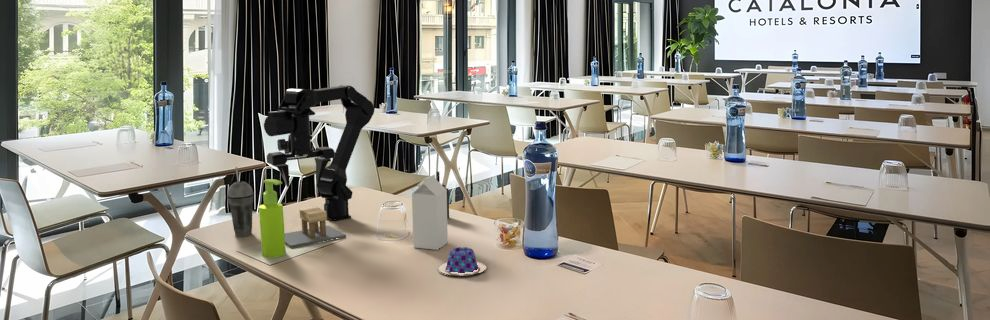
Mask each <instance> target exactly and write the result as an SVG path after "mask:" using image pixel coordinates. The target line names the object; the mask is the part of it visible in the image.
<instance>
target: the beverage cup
mask: <svg viewBox="0 0 990 320" xmlns="http://www.w3.org/2000/svg"><path fill="white" fill-rule="evenodd" d="M238 170H239V169H238V166H235V174H236V181H235V182H233V183H232V184H231V185H230V186H229V187H228V189H227V195H226V198H227V202H228V205H229V209H230V214H231V219H232V220H231V221H232V227H233V231H234V236H235V237H237V238H245V237H249V236H251V235H252V231H253V202H254V195H255V194H254V191H253V188H252V186H251V184H249V183H248V182H246V181H243V180H241V181H240V177H239V171H238Z"/></svg>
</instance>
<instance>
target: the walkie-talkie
mask: <svg viewBox="0 0 990 320" xmlns="http://www.w3.org/2000/svg"><path fill="white" fill-rule="evenodd" d="M436 180H437V181H438V182H439V183H440V184H441V182H440V171H436ZM441 185H442V186H443V187H444V188H445V189H446V190H447V219H449V218H450V193H449V190H450V188H447V187H446V185H445V184H441Z"/></svg>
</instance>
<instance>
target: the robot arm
mask: <svg viewBox="0 0 990 320" xmlns="http://www.w3.org/2000/svg"><path fill="white" fill-rule="evenodd" d="M283 96H284V97H283V98H282V100H281V101H280V104H279V106H278V108H277V111H268V112H267V117H266V118H265V120H264V122H263V129H264V131H265V133H266V135H267V136H269V137H276V136H277V137H278V136H283V135H288V140H286V139H285V138H280V139H279V138H278V139H277V142H276V143H277V150H278V151H276V152H275V151H274V152H269V153H268V154H267V155H266V163H267V164H270V165H272V166H273V167H275V168H277V170H278V172H280V175H281V177H282V179H283V181H284V184H285V187H286V188H289V187H290V171H289V169H290V168H289V164H286V163H287V162H288V161H294V160H302V159H303V160H304V159H310V158H311V159H312V158H314V162H315V179H316V188H317V190H318V192H319V195H320V197H321V198H322V199H325V200H324V204H323V210H324V211H326V214H327V220H329V221H331V222H333V221H339V220H344V219H350V218H352V215H350V214H349V200H351V199H352V198H353V190H352V189H350V187H348V186H347V182H348V176H347V168H348V165H349V163H350V161H351V160H350V159H351V158H352V155H353V153H354V149H355V147H356V145H357V141H358V139H359V136H360V134H361V131H362V129H363V128H364V127H365V126H366V125H367V124H369V122H370V121H371V119H372V118H373V116H374V114H375V106H374V104H373V102H372V101H371V100H369V99H368V98H367V97H366V96H365V95H363V94H362V93H360V92H359V91H357V90H356V89H355V87H354V86H352V85H346V84H345V85H344V84H340V85H338V86H331V87H323V88H318V89H315V88H314V89H307V88H306V89H305V88H296V87H295V88H292V87H291V88H288V89H286V91H285V93H284V95H283ZM337 100H339V101H340V102H341V105H342V106H343V108H344V109H345V114H344V115H345V122H346V123H345V126H344V129H343V131H342V133H341V136H340V139H339V141H338V144H337V147H336V149H335V150H334V149H333V148H332V147H328V146H320V147H315V149H314V150H313V149H312V140H313V135H311V126H310V124H311V123H310V122H311V121H310V116H311V117H312V116H315V115H316V112H315V111H314V110H312V109H311V108H313V107H315V106H317V104H319V103H324V102H325V103H326V102H331V101H337ZM282 151H284V152H282ZM329 162H330V165H329V166H327V165H328V164H329Z"/></svg>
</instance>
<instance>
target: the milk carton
mask: <svg viewBox="0 0 990 320" xmlns="http://www.w3.org/2000/svg"><path fill="white" fill-rule="evenodd" d="M442 185H443V184H441V182H440V183H439V182H438V181H437V178H436V175H435V174H432V175H430V176H427V177H426V178H424V179H423V180H421V181H420V182H418V183H417V187H418V188H417V189H416V190H414V191H413V192H412V193H411V206H412V207H411V210H412V211H411V213H412V239H413V240H412V243H413V245H412V247H413V248H414V249H415V248H416V249H426V250H433V251H439V250H440V249H441V248H443V247H444V246H445V245H446V244H448V242H449V240H448V236H449V235H448V218H447V190H446V189H445V188H446V187H445V188H444V187H443V186H442ZM439 248H440V249H439Z"/></svg>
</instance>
